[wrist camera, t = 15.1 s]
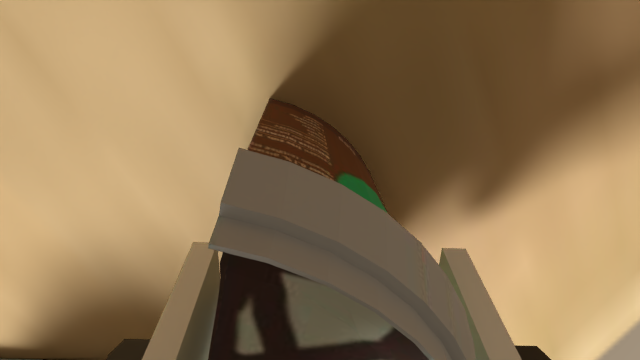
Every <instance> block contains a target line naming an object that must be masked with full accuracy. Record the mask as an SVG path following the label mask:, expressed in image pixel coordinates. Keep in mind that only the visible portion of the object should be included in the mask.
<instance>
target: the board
mask: <svg viewBox="0 0 640 360" xmlns="http://www.w3.org/2000/svg"><path fill="white" fill-rule="evenodd" d="M0 360H41V359H0Z"/></svg>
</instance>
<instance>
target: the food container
mask: <svg viewBox="0 0 640 360" xmlns="http://www.w3.org/2000/svg"><path fill="white" fill-rule="evenodd" d="M208 248H209V249H213V250H217V251H221V252H223V255H222V258H221V261H220V277H221V279H220V286H219V294H218V301H217V307H216V313H215V319H214V325H213V331H212V337H211V343H210V349H209V356H208V360H476V357H475V349H474V342H473V338H472V334H471V331H470V327H469V323H468V320H467V316H466V312H465V309H464V307H463V305H462V303H461V301H460V299H459V297H458V295H457V294H456V292H455V290H454V288H453V286H452V284H451V282H450V280H449V278H448V276H447V275H446V274H445V272H444V271H443V270H442V269H441V267H440V266H439V265H438V264H437V262H436V261H435V260H434V258H433V257H432V256H431V255H430V253H429V252H428V251H427V250H426V248H425V247H424V246H423V245H422V243H421V242H420V241H418V240H417V239H416V238H415V237H414V236H413V235H412V234H410V233H409V232H408V231H407V230H406V229H405V228H404V227H402V226H401V225H400V224H399V223H398V222H397V221H396V220H394V219H393V218H392V217H391V216H390V215H389V214H388V213H387V211H386V209H385V207H384V204H383V202H382V200H381V198H380V195H379V193H378V191H377V189H376V186H375V184H374V182H373V180H372V177H371V175H370V173H369V171H368V169H367V167H366V165H365V164H364V162H363V160H362V158H361V157H360V155H359V154H358V152H357V151H356V150H355V149H354V147H353V146H352V145H351V144H350V143H349V141H348V140H347V139H346V138H345V137H344V136H342V135H341V134H340V133H339V132H338V131H337V130H336V129H335V128H333V127H332V126H331V125H329V124H328V123H326V122H325V121H323V120H322V119H320V118H319V117H317V116H316V115H314V114H312V113H310V112H308V111H305V110H303V109H301V108H299V107H297V106H294V105H291V104H288V103H284V102H281V101H277V100H274V99H269V101H268V103H267V106H266V108H265V110H264V113H263V115H262V117H261V120H260V122H259V124H258V127H257V129H256V131H255V134H254V136H253V138H252V141H251V143H250V145H249V148H248V150H245V149H241V148H239V149H238V152H237V155H236V158H235V161H234V164H233V167H232V170H231V173H230V176H229V179H228V182H227V185H226V188H225V191H224V194H223V197H222V200H221V205H220V212H219V217H218V220H217V223H216V225H215V228H214V231H213V234H212V236H211V239H210V242H209V247H208Z"/></svg>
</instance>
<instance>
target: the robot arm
mask: <svg viewBox="0 0 640 360" xmlns="http://www.w3.org/2000/svg"><path fill="white" fill-rule="evenodd" d="M208 247H209V243H200V242H193V244H192V246H191V248H190V251H189V253H188V255H187V258H186V260H185V262H184V264H183V267H182V269H181V271H180V274H179V276H178V278H177V280H176V283H175V285H174V287H173V290H172V292H171V294H170V296H169V299H168V301H167V303H166V306H165V308H164V310H163V312H162V315H161V317H160V319H159V322H158V324H157V326H156V328H155V331H154V333H153V335H152V338H151V340H144V339H124V340H123V341H122V342H121V343H120V344H119V345H118V346H117V347H116V348H115V349H114V350H113V351H112V352H111V353H110V354H109V355H108V357H107V359H106V360H208V356H209V349H210V343H211V337H212V331H213V325H214V319H215V313H216V307H217V301H218V294H219V286H220V272H219V260H218V251H217V250H213V249H209V248H208ZM439 266H440V267H441V269H442V270H443V271H444V272H445V274H446V275H447V276H448V278H449V280H450V282H451V284H452V286H453V288H454V290H455V292H456V294H457V295H458V297H459V299H460V301H461V303H462V305H463V307H464V309H465V312H466V316H467V320H468V323H469V327H470V331H471V334H472V338H473V342H474V349H475V357H476V360H551V359H550V358H549V357H548V356H547V355H546V354H545V353H543V352H542V351H541V350H540V349H539V348H538V347H537V346H514V344H513V342H512V340H511V338H510V336H509V334H508V332H507V330H506V328H505V326H504V324H503V322H502V320H501V318H500V316H499V314H498V312H497V310H496V308H495V306H494V304H493V302H492V300H491V298H490V296H489V294H488V292H487V290H486V288H485V286H484V284H483V282H482V280H481V278H480V276H479V274H478V272H477V270H476V268H475V266H474V264H473V262H472V260H471V258H470V256H469V254H468V253H467V251H466V249H455V248H442V252H441V257H440V263H439Z"/></svg>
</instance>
